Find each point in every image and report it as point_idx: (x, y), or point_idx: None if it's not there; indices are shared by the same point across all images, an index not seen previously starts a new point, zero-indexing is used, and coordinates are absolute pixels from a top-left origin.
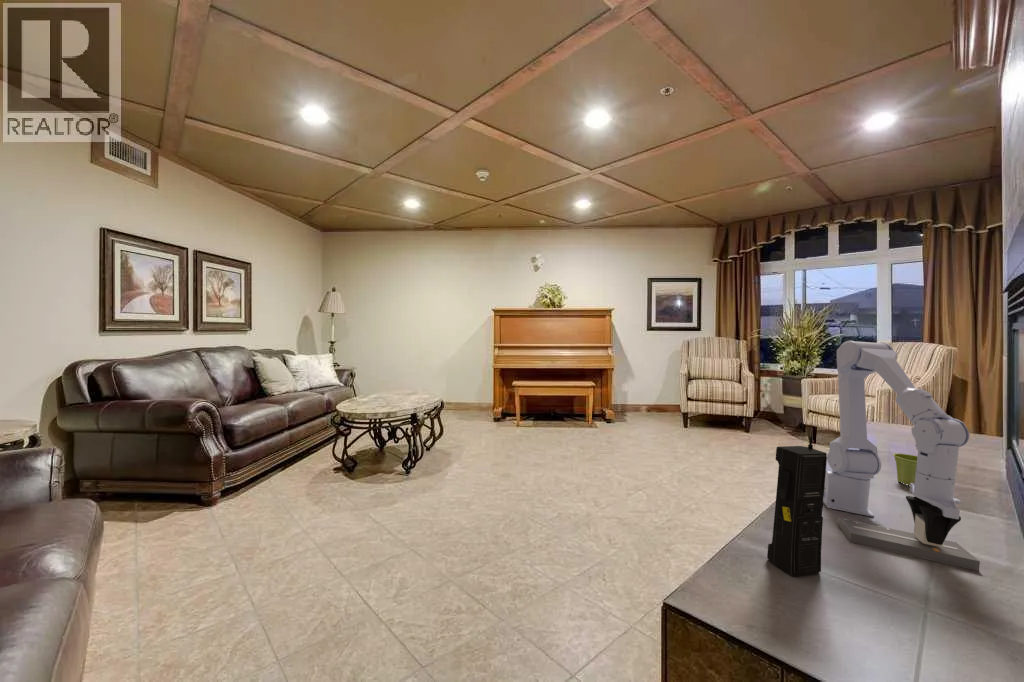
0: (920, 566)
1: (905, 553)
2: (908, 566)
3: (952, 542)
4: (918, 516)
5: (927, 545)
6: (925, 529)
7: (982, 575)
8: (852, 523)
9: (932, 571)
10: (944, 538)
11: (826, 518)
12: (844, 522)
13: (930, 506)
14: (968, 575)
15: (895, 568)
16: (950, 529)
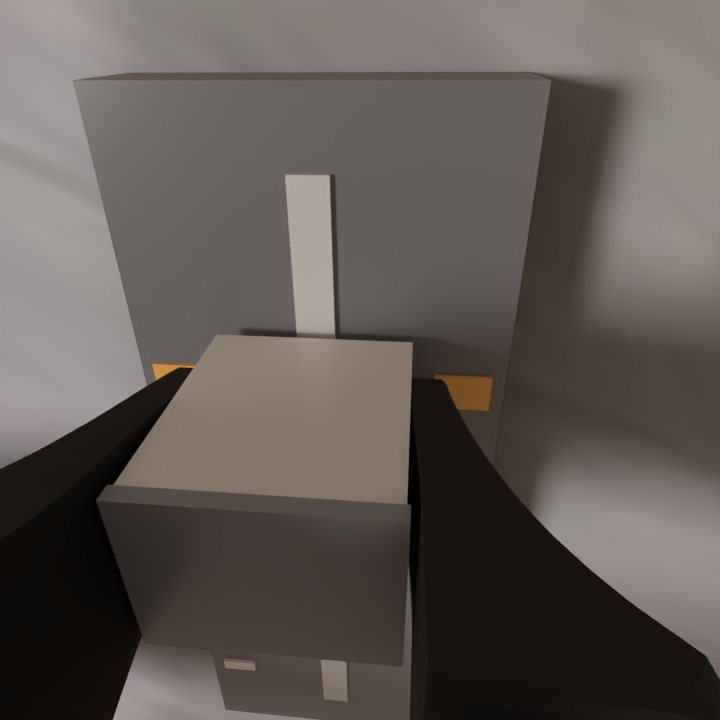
0: (631, 484)
1: None
2: (661, 545)
3: (114, 129)
4: (233, 643)
5: None
6: (409, 566)
7: (613, 83)
8: (275, 685)
9: (685, 448)
10: (464, 422)
11: (161, 667)
12: (291, 711)
13: (4, 692)
14: (662, 223)
15: (717, 611)
16: (514, 497)
